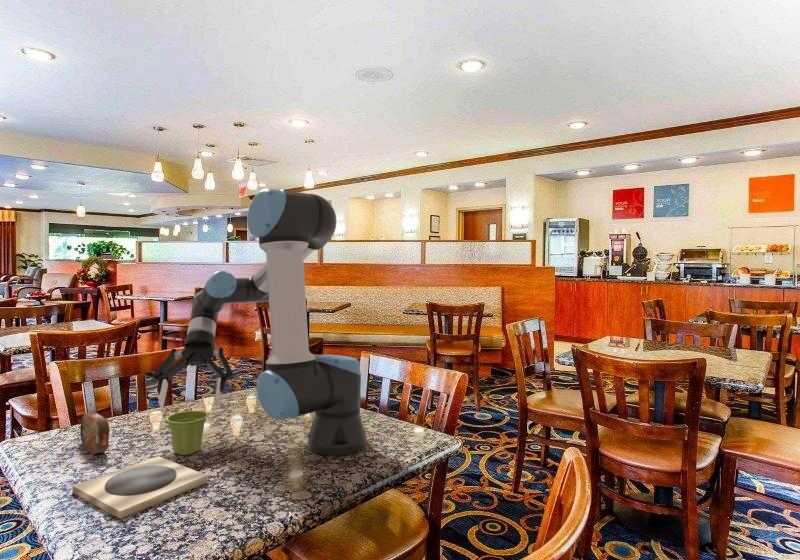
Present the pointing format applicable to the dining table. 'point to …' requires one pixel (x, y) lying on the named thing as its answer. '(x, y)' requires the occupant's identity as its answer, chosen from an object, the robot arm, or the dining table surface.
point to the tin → (94, 433)
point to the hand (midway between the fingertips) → (189, 403)
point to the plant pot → (187, 431)
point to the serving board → (138, 486)
